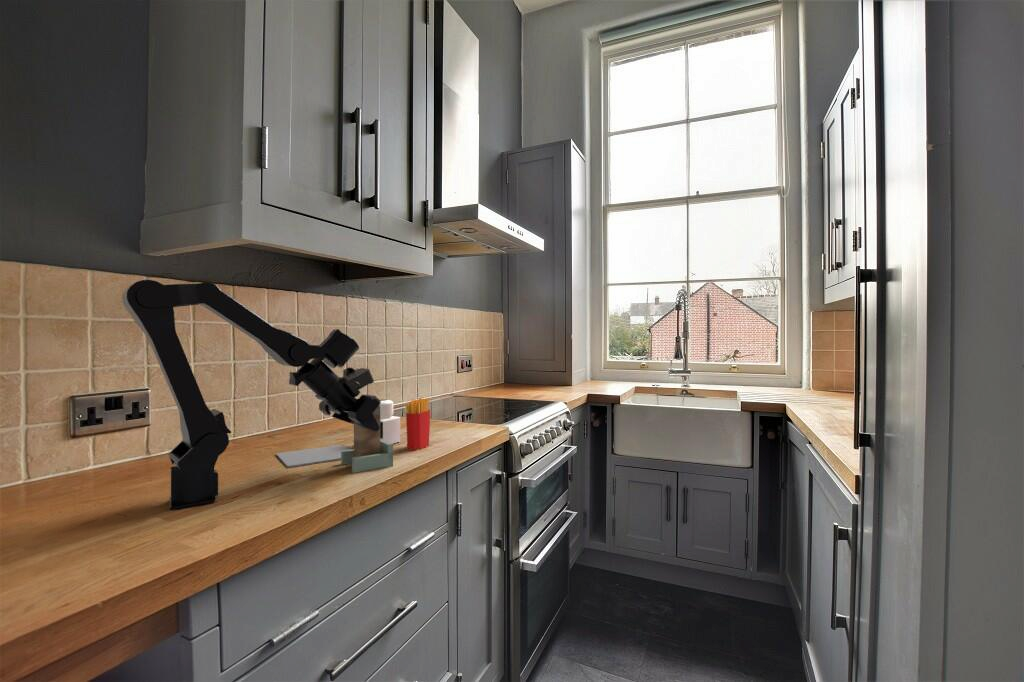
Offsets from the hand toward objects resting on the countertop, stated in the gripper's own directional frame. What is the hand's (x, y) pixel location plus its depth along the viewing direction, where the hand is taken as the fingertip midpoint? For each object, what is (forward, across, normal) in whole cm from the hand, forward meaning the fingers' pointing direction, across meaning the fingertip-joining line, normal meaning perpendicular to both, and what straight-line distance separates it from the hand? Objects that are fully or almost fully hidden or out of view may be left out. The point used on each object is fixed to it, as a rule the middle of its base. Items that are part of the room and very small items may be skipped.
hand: (372, 428), depth 106 cm
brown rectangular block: (+4, 0, +6) cm, 8 cm away
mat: (+2, +16, +10) cm, 19 cm away
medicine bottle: (+15, +17, -3) cm, 23 cm away
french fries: (+18, +6, -6) cm, 20 cm away
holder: (+5, 0, +7) cm, 8 cm away
